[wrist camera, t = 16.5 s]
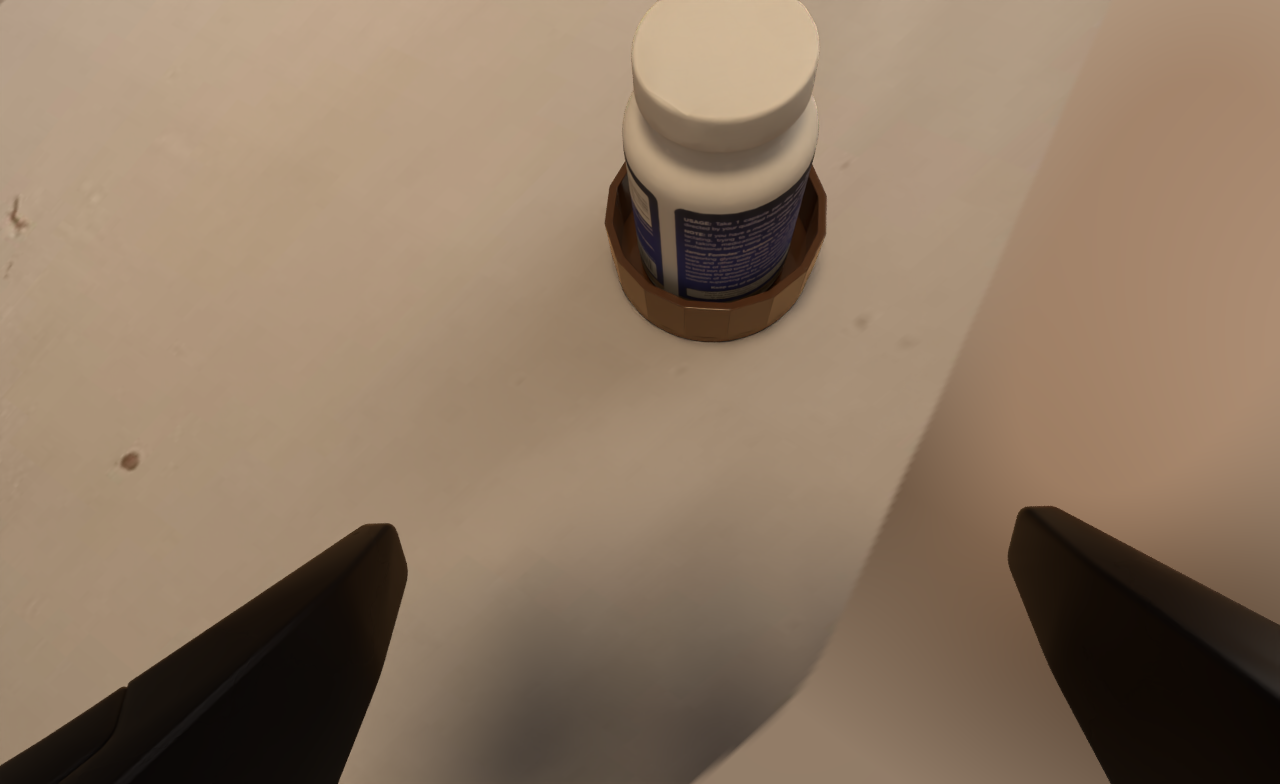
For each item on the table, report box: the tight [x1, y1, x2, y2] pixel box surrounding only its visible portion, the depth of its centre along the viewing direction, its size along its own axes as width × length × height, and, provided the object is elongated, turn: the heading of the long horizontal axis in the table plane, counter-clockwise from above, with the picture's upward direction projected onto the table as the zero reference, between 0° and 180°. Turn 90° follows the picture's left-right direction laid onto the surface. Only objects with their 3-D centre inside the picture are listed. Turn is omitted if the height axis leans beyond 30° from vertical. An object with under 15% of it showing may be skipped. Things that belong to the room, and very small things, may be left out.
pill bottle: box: [622, 0, 820, 303], centre depth 21 cm, size 6×6×10 cm
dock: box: [605, 162, 827, 342], centre depth 24 cm, size 8×8×3 cm
